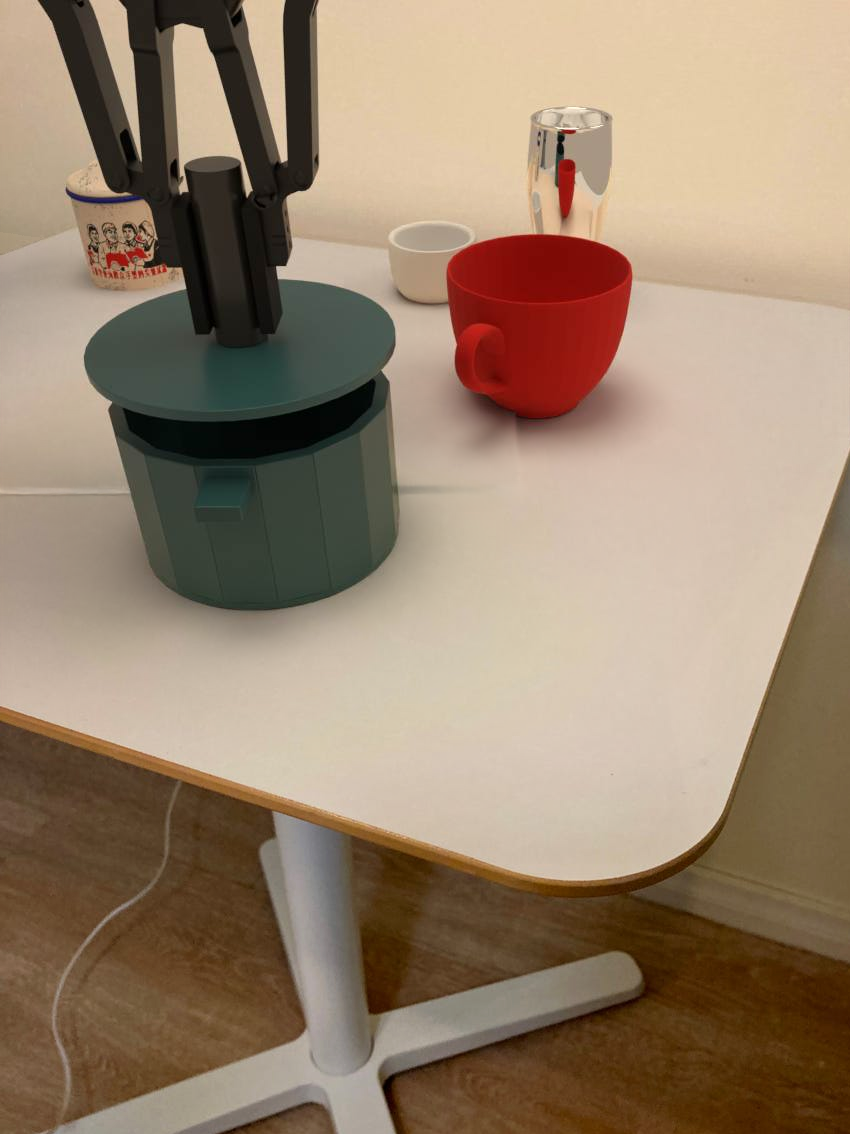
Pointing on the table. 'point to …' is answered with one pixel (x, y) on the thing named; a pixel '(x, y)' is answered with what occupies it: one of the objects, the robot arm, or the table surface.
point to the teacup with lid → (116, 234)
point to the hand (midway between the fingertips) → (239, 323)
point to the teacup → (426, 257)
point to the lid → (236, 330)
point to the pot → (265, 499)
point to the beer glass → (569, 171)
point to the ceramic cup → (537, 319)
